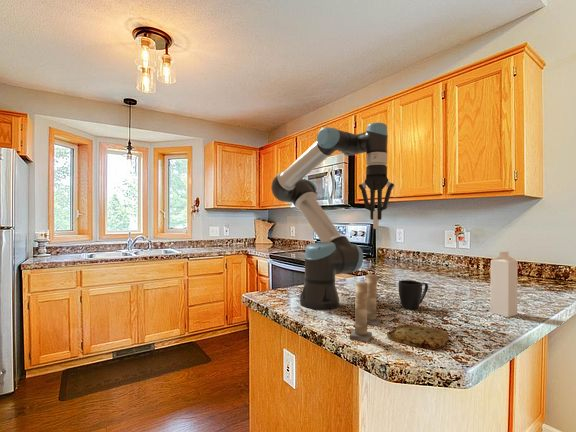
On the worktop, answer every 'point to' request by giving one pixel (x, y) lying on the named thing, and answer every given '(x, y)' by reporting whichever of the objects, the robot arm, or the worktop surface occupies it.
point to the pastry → (419, 336)
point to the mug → (411, 293)
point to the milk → (503, 285)
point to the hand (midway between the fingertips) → (375, 228)
